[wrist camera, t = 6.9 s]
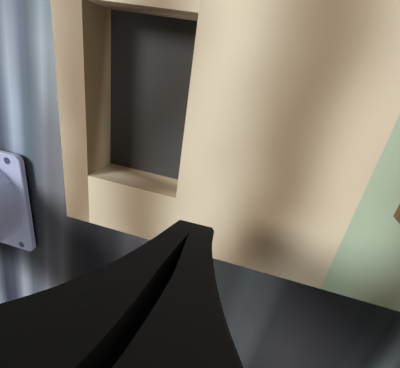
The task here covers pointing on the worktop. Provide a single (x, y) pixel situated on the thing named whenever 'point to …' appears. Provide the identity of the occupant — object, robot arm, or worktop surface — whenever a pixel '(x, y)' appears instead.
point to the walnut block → (397, 214)
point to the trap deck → (240, 130)
